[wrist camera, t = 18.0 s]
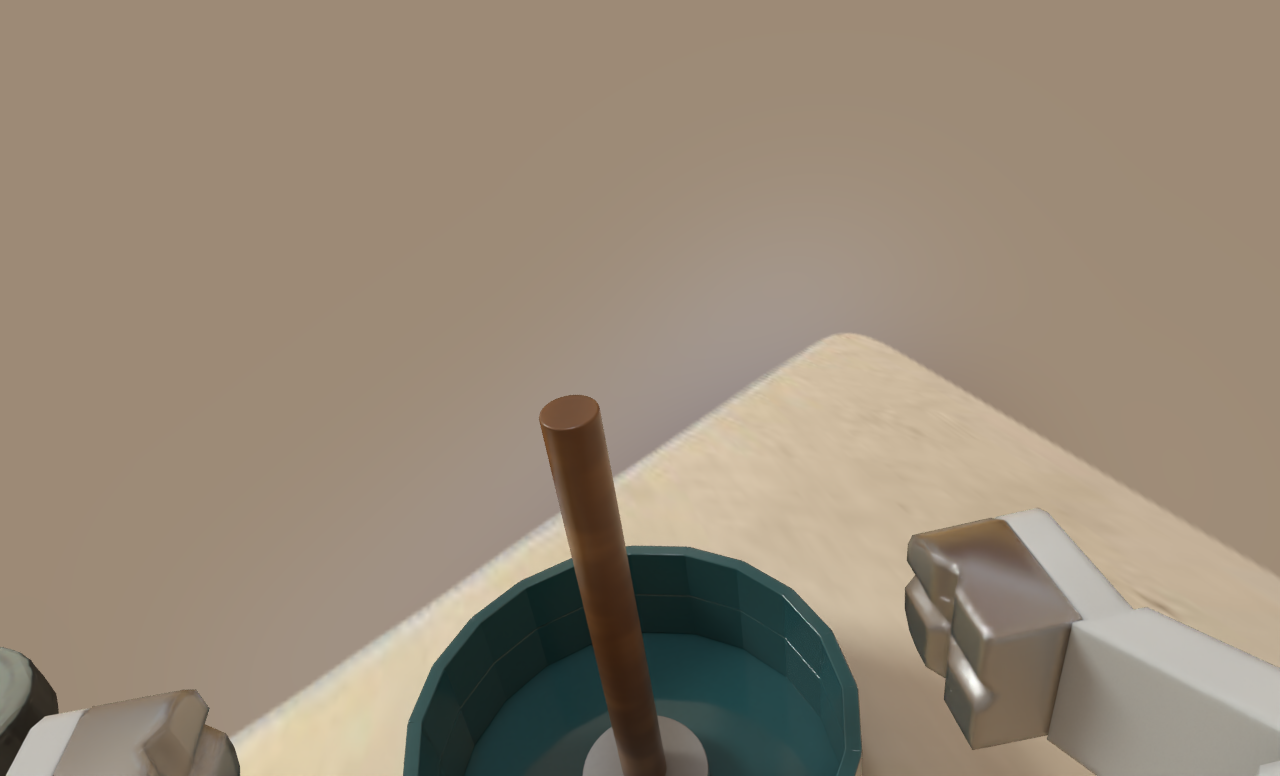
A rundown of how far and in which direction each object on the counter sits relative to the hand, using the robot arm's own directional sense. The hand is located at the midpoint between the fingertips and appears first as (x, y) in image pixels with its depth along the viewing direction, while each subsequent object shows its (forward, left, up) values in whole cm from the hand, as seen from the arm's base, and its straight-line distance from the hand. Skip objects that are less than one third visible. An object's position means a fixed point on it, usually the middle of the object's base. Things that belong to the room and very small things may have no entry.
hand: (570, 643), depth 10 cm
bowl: (0, +14, -26) cm, 29 cm away
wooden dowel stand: (0, +14, -25) cm, 29 cm away
